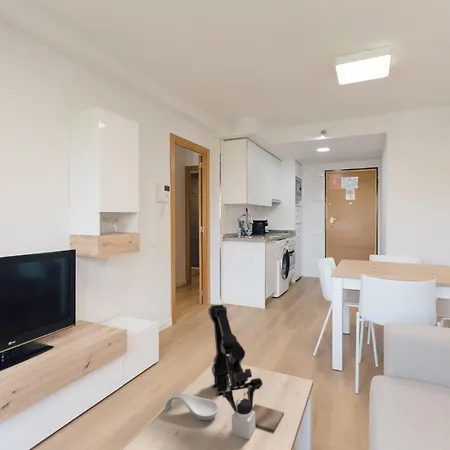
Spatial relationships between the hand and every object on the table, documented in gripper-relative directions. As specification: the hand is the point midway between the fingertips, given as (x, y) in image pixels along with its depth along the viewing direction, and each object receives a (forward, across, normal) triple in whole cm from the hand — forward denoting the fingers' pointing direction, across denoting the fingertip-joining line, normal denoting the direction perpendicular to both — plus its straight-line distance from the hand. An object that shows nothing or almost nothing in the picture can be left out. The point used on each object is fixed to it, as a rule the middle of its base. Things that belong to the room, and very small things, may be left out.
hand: (243, 410), depth 123 cm
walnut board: (+2, +10, +10) cm, 15 cm away
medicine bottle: (+6, 0, +6) cm, 9 cm away
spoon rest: (-6, -18, +19) cm, 27 cm away
